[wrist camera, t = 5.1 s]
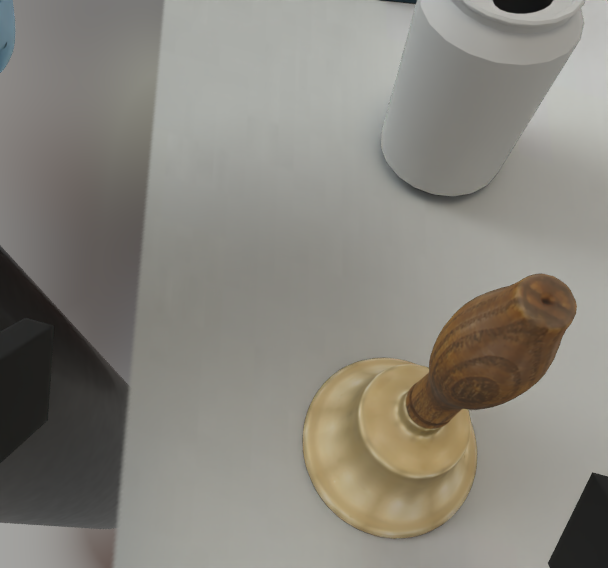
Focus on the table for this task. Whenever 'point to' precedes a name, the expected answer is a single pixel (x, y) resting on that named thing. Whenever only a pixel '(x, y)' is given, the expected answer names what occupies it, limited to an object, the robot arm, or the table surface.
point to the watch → (408, 0)
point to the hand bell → (429, 410)
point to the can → (472, 86)
